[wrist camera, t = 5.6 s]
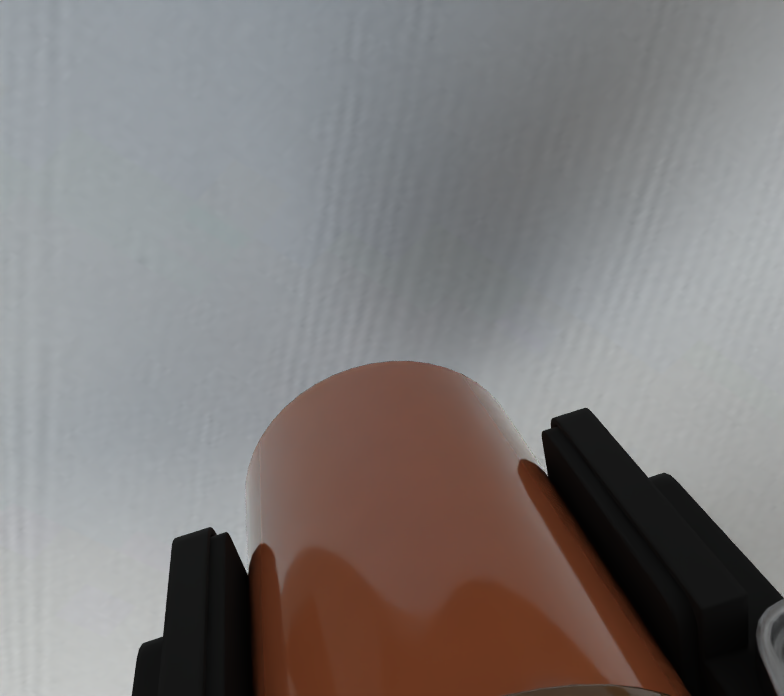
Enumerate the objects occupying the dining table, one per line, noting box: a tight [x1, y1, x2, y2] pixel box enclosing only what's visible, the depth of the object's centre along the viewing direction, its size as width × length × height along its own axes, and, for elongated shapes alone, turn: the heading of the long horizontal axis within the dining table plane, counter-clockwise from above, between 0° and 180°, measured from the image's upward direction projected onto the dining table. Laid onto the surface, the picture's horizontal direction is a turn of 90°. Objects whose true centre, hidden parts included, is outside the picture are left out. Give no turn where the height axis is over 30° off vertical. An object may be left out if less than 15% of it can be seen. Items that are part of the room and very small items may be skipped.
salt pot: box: [245, 361, 692, 696], centre depth 10 cm, size 5×5×7 cm
